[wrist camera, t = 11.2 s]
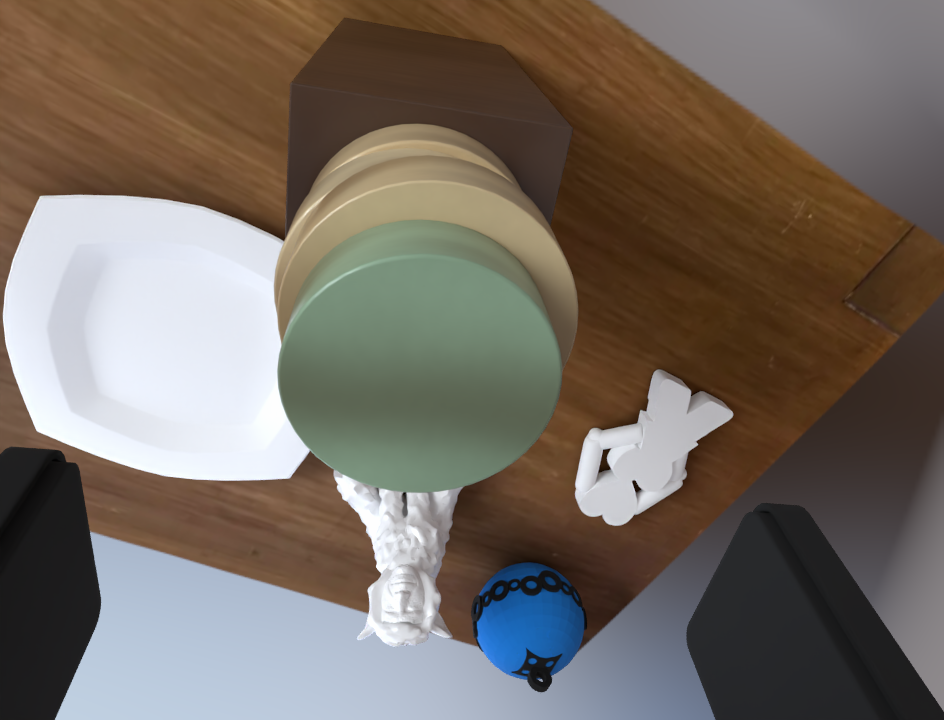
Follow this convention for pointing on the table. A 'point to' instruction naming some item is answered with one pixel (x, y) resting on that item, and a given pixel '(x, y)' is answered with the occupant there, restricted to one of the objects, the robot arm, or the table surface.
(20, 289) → the plate
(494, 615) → the ornament
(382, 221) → the chip pile
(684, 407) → the white abstract figurine
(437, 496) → the white creature statuette
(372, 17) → the table surface
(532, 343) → the green chip
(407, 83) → the riser
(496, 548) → the table surface
